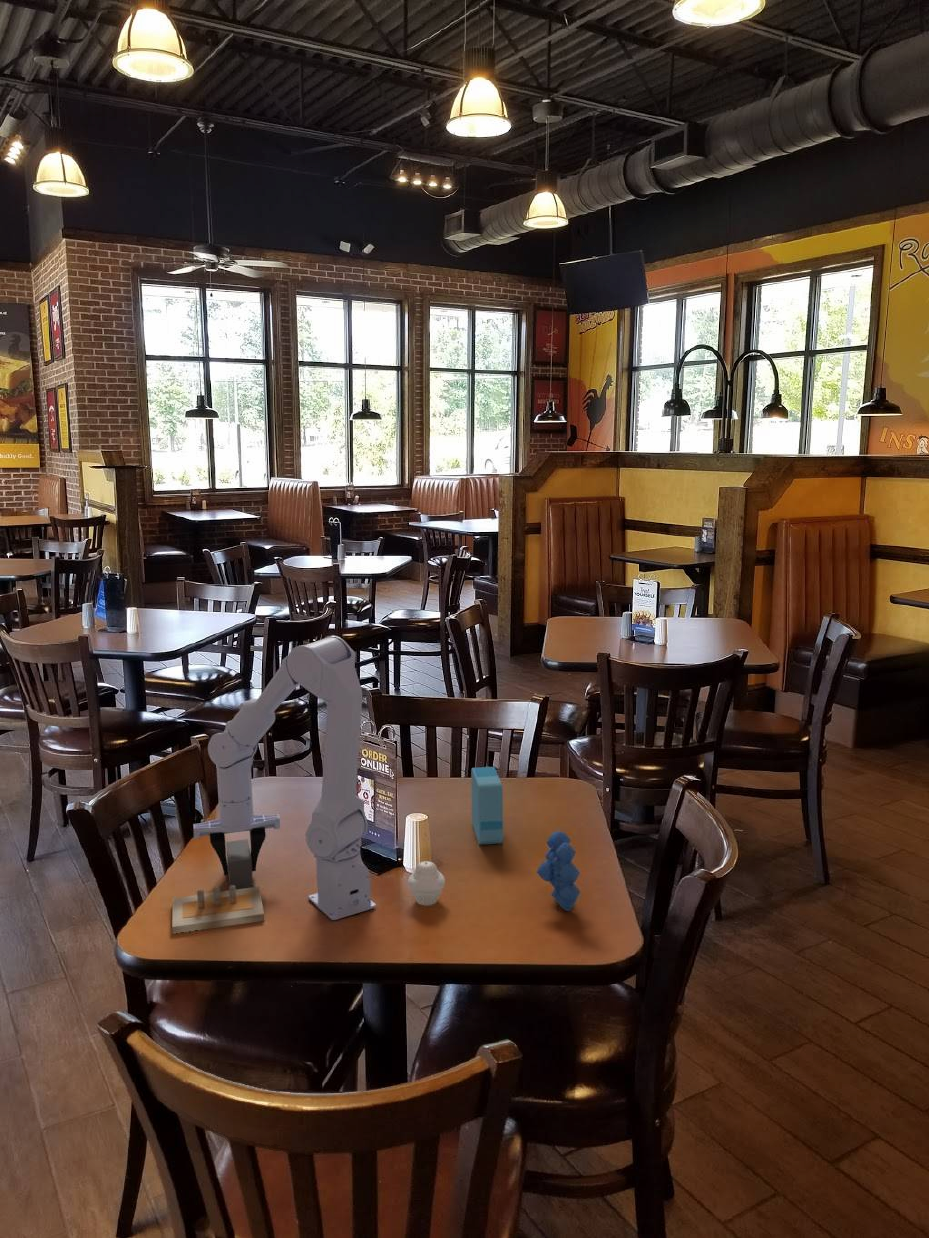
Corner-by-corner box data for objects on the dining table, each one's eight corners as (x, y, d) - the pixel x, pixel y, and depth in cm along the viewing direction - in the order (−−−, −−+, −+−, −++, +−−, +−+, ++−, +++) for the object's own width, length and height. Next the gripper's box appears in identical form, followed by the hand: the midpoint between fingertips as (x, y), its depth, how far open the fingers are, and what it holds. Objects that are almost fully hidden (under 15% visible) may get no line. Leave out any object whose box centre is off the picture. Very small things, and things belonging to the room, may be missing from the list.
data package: (503, 846, 179) (502, 785, 177) (479, 847, 178) (478, 786, 176) (493, 821, 190) (493, 764, 188) (471, 822, 190) (471, 765, 188)
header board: (259, 892, 161) (258, 869, 160) (264, 920, 151) (263, 896, 151) (173, 905, 157) (171, 881, 156) (172, 934, 148) (170, 909, 147)
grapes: (527, 889, 161) (527, 822, 159) (565, 885, 162) (566, 819, 160) (546, 923, 150) (546, 851, 148) (587, 918, 151) (588, 847, 149)
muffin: (432, 913, 153) (431, 872, 152) (401, 904, 156) (399, 864, 155) (452, 897, 158) (451, 858, 157) (421, 889, 162) (421, 850, 160)
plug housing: (227, 869, 170) (226, 841, 169) (249, 866, 171) (247, 839, 170) (230, 890, 162) (228, 862, 161) (253, 887, 163) (251, 859, 162)
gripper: (275, 784, 170) (279, 855, 172) (191, 793, 166) (196, 866, 168) (279, 798, 163) (283, 872, 165) (192, 808, 159) (197, 883, 161)
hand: (239, 870), depth 166 cm, fingers open, 4 cm apart
